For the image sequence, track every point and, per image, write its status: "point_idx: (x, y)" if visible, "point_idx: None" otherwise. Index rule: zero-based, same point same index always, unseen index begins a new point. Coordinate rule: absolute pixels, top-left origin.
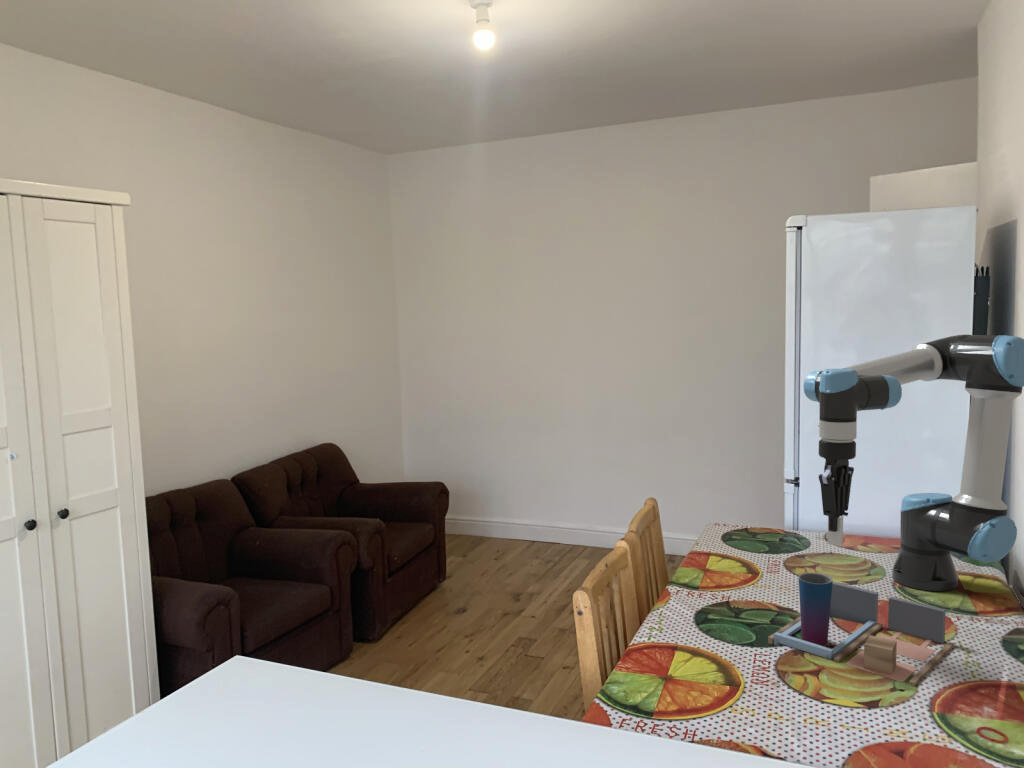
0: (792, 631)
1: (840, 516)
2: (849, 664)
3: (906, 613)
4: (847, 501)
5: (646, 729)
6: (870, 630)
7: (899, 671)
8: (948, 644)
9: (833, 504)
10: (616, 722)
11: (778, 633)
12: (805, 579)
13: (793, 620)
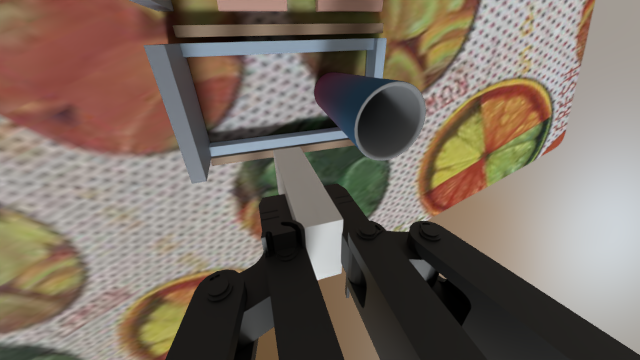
0: (335, 130)
1: (315, 234)
2: (380, 3)
3: None
4: (208, 357)
5: (568, 106)
6: (229, 32)
7: None
8: None
9: (527, 287)
10: (561, 130)
11: None
12: (369, 149)
13: None
